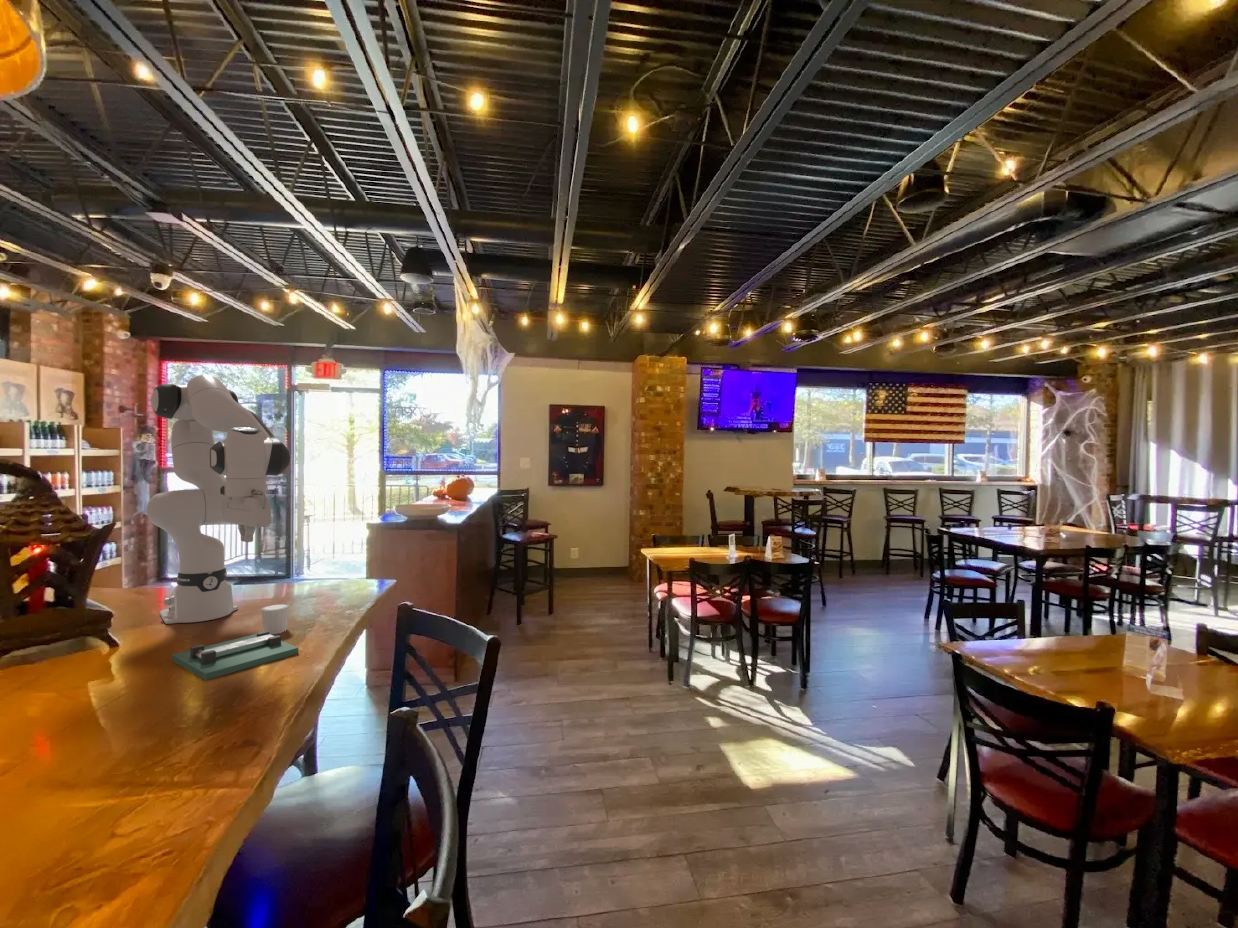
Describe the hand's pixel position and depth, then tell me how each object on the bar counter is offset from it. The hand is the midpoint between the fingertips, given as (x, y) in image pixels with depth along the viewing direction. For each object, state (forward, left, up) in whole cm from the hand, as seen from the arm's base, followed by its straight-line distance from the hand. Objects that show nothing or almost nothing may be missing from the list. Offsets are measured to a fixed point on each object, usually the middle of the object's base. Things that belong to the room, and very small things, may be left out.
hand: (247, 541), depth 148 cm
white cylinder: (-5, +9, -27) cm, 29 cm away
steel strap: (+8, -6, -26) cm, 27 cm away
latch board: (+8, -6, -27) cm, 29 cm away
